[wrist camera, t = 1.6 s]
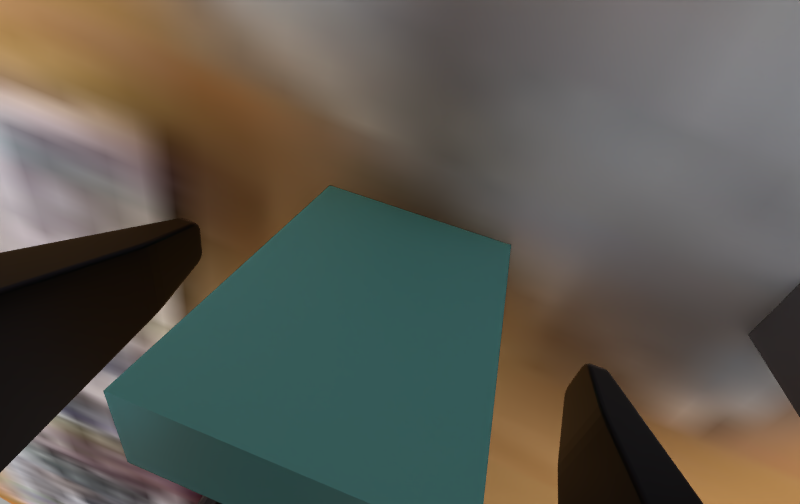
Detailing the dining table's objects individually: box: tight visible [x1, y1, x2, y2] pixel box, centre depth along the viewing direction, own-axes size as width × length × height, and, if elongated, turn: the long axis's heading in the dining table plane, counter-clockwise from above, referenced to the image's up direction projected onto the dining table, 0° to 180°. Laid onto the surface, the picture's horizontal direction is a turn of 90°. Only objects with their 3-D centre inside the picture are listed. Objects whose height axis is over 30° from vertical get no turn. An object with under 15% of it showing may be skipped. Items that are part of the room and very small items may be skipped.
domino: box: [104, 186, 511, 504], centre depth 8 cm, size 2×5×7 cm, turn 77°
